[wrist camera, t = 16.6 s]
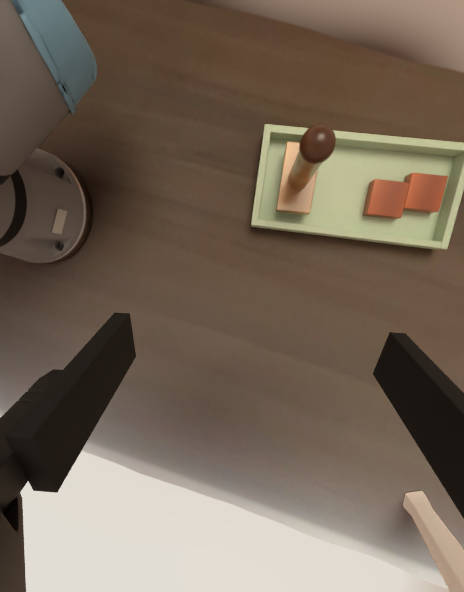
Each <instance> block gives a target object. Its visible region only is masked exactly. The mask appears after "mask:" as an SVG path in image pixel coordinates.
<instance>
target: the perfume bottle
mask: <svg viewBox="0 0 464 592" xmlns="http://www.w3.org/2000/svg"><path fill="white" fill-rule="evenodd" d="M403 507H404V508H405V509H406V510H407V511H408V512H409V514H410V515H411V516H412V518H413V520H414V522H415V523H416V525H417V527H418V529H419V531H420V533H421V535H422V537H423V539H424V541H425V543H426V545H427V547H428V549H429V551H430V553H431V555H432V557H433V559H434V561H435V563H436V565H437V567H438V569H439V571H440V573H441V575H442V577H443V579H444V581H445V583H446V585H447V586H448V588H449V590H450V592H464V549H463V548H462V547H461V545H460V544H459V543H458V542H457V540H456V539H455V538H454V536H453V535H452V534H451V532H450V531H449V530H448V528H447V527H446V526H445V525H444V523H443V522H442V521H441V519H440V518H439V517H438V515H437V514H436V513H435V511H434V510H433V509H432V507H431V504H430V502H429V500H428V499H427V497H426V496H425V494H424V492H423V491H416V492H409V493H405V496H404V502H403Z"/></svg>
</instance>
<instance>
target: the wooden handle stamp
mask: <svg viewBox="0 0 464 592" xmlns="http://www.w3.org/2000/svg"><path fill="white" fill-rule="evenodd" d="M335 145H336V137H335V134H334V132H333V130H332V129H331V128H330V127H329V126H327V125H324V124H317V125H314V126H312V127H310V128H309V129H307V130H306V131H305V133H304V134H303V136H302V138H301V140H300V143H299V142H288V141H287V143H286V147H285V153H284V160H283V166H282V173H281V179H280V186H279V193H278V199H277V206H276V212H282V213H290V214H299V215H309V214H310V211H311V205H312V200H313V194H314V188H315V183H316V177H317V171H318V168H319V167H320V166H321V164H322V163H323V162H324V161H326V160H327V159H328V158H329V157H330V156H331V154H332V153H333V151H334V149H335Z"/></svg>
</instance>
